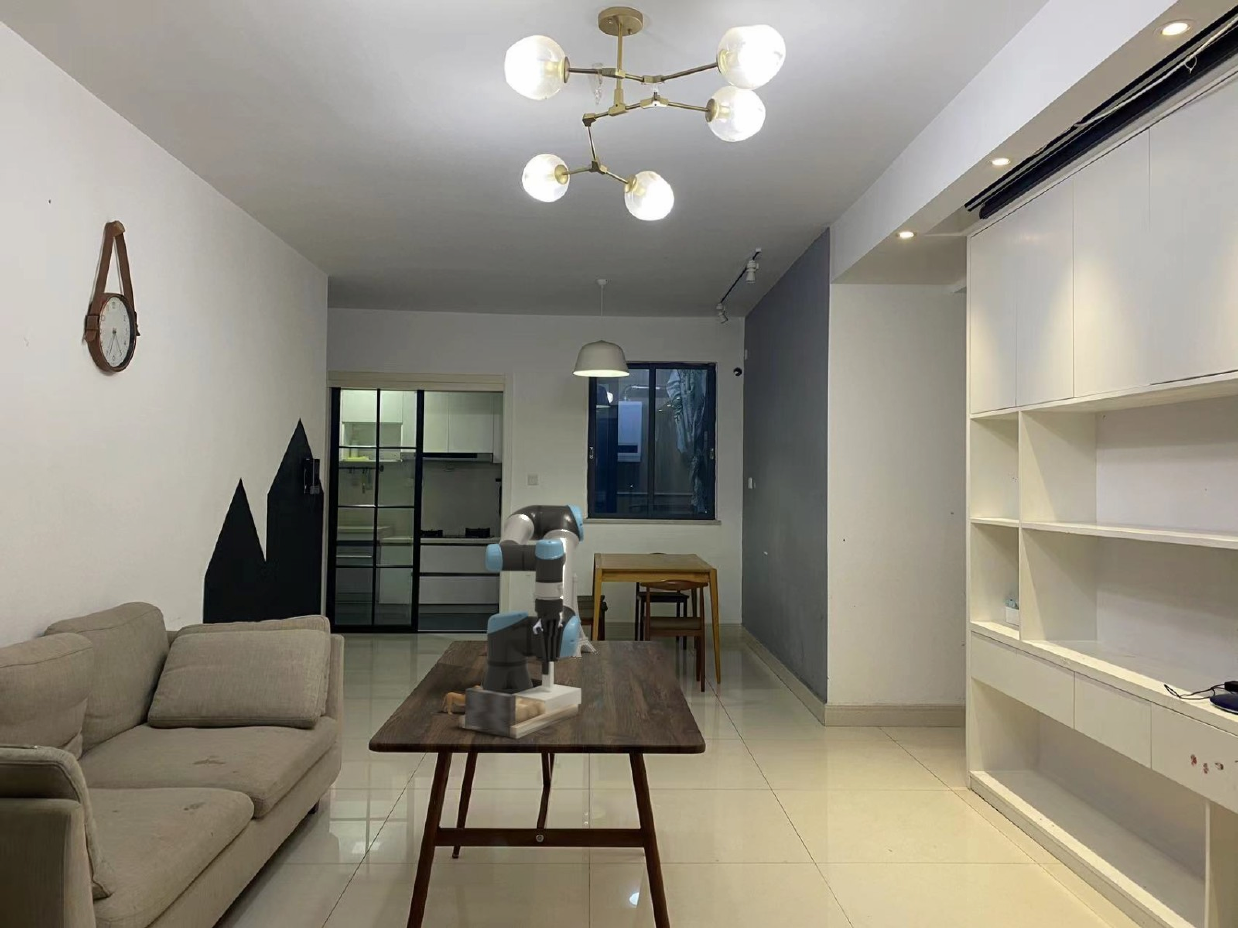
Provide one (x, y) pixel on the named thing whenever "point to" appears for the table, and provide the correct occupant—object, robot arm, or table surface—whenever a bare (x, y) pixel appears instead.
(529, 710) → the roller mid
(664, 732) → the table surface
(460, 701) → the lion figurine
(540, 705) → the roller rear
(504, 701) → the track
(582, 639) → the eiffel tower
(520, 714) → the roller front
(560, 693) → the slab
